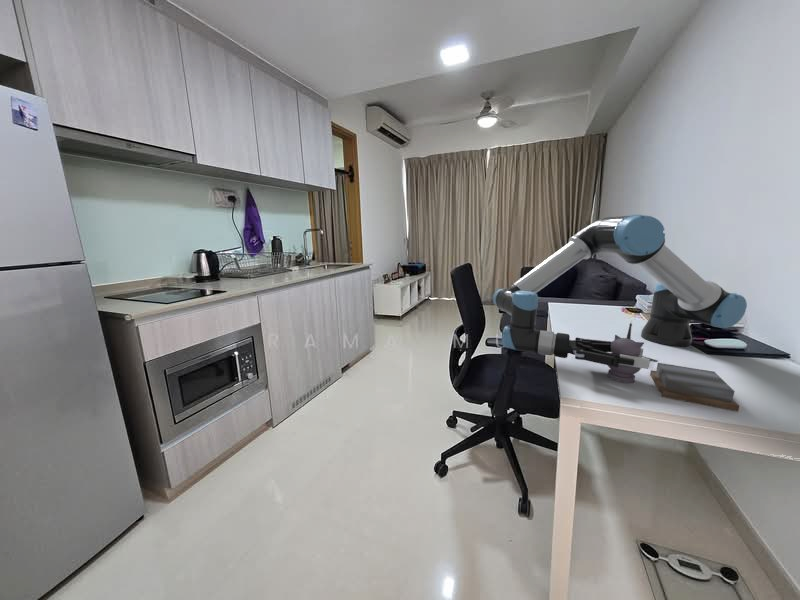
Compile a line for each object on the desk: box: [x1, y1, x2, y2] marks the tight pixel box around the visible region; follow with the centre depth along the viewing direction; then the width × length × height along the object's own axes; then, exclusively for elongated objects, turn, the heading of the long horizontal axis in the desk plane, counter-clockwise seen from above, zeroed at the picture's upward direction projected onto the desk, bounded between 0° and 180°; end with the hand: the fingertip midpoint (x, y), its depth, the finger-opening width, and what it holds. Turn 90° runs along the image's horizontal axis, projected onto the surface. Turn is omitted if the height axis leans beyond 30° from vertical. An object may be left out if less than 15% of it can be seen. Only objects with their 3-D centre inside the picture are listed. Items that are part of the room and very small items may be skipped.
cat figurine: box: [607, 334, 645, 384], centre depth 87 cm, size 8×8×12 cm
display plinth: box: [649, 362, 740, 413], centre depth 81 cm, size 14×14×4 cm
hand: (645, 358), depth 85 cm, fingers closed on cat figurine, 8 cm apart
